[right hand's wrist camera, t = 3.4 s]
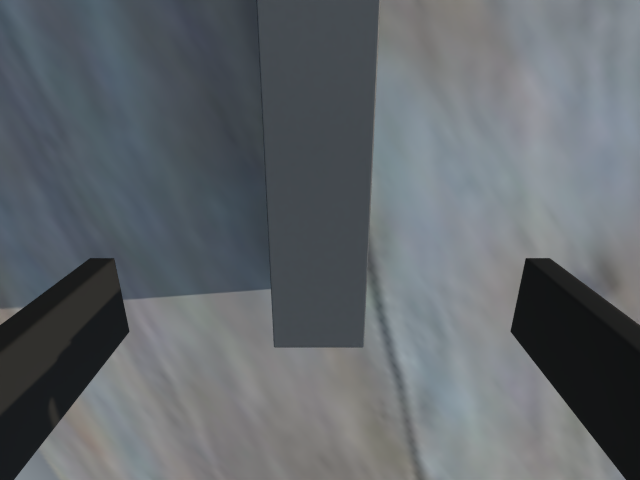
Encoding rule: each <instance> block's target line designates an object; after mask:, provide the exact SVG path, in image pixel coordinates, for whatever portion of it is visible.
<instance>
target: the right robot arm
mask: <svg viewBox="0 0 640 480" xmlns="http://www.w3.org/2000/svg"><path fill="white" fill-rule="evenodd" d="M128 333H129V327H128V323H127V318H126V313H125V308H124V303H123V298H122V294H121V289H120V284H119V279H118V274H117V270H116V265H115V260H114V258H90V259H89V260H87V261H86V262H85V263H83V264H82V265H81V266H79V267H78V268H76V269H75V270H74V271H72V272H71V273H70V274H68V275H67V276H66V277H64V278H63V279H62V280H60V281H59V282H58V283H56V284H55V285H54V286H52V287H51V288H50V289H48V290H47V291H46V292H44V293H43V294H42V295H40V296H39V297H38V298H36V299H35V300H34V301H32V302H31V303H29V304H28V305H27V306H25V307H24V308H23V309H21V310H20V311H19V312H17V313H16V314H15V315H13V316H12V317H11V318H9V319H8V320H7V321H5V322H4V323H3V324H1V325H0V480H14V479H15V478H16V476H17V475H18V474H19V473H20V471H21V470H22V469H23V467H24V466H25V465H26V464H27V462H28V461H29V460H30V458H31V457H32V456H33V455H34V453H35V452H36V451H37V449H38V448H39V447H40V446H41V444H42V443H43V442H44V440H45V439H46V438H47V437H48V435H49V434H50V433H51V431H52V430H53V429H54V428H55V426H56V425H57V424H58V423H59V421H60V420H61V419H62V417H63V416H64V415H65V414H66V412H67V411H68V410H69V408H70V407H71V406H72V405H73V403H74V402H75V401H76V399H77V398H78V397H79V396H80V394H81V393H82V392H83V390H84V389H85V388H86V387H87V385H88V384H89V383H90V381H91V380H92V379H93V378H94V376H95V375H96V374H97V373H98V371H99V370H100V369H101V367H102V366H103V365H104V364H105V362H106V361H107V360H108V358H109V357H110V356H111V355H112V353H113V352H114V351H115V349H116V348H117V347H118V346H119V344H120V343H121V342H122V340H123V339H124V338H125V337H126V335H127V334H128ZM511 333H512V334H513V335H514V337H515V338H516V339H517V340H518V342H519V343H520V344H521V346H522V347H523V348H524V349H525V351H526V352H527V353H528V355H529V356H530V357H531V358H532V360H533V361H534V362H535V364H536V365H537V366H538V367H539V369H540V370H541V371H542V373H543V374H544V375H545V376H546V378H547V379H548V380H549V381H550V383H551V384H552V385H553V387H554V388H555V389H556V390H557V392H558V393H559V394H560V396H561V397H562V398H563V399H564V401H565V402H566V403H567V405H568V406H569V407H570V408H571V410H572V411H573V412H574V414H575V415H576V416H577V417H578V419H579V420H580V421H581V423H582V424H583V425H584V426H585V428H586V429H587V430H588V432H589V433H590V434H591V435H592V437H593V438H594V439H595V440H596V442H597V443H598V444H599V446H600V447H601V448H602V449H603V451H604V452H605V453H606V455H607V456H608V457H609V458H610V460H611V461H612V462H613V464H614V465H615V466H616V467H617V469H618V470H619V471H620V473H621V474H622V475H623V476H624V478H625V479H626V480H640V325H639V324H637V323H636V322H635V321H633V320H632V319H631V318H629V317H628V316H627V315H625V314H624V313H623V312H621V311H620V310H619V309H617V308H616V307H615V306H613V305H612V304H611V303H609V302H608V301H606V300H605V299H604V298H602V297H601V296H600V295H598V294H597V293H596V292H594V291H593V290H592V289H590V288H589V287H588V286H586V285H585V284H584V283H582V282H581V281H580V280H578V279H577V278H576V277H574V276H573V275H572V274H570V273H569V272H568V271H566V270H565V269H564V268H562V267H561V266H559V265H558V264H557V263H555V262H554V261H553V260H551V259H550V258H526V260H525V265H524V270H523V274H522V279H521V284H520V289H519V294H518V298H517V303H516V308H515V313H514V318H513V322H512V327H511Z"/></svg>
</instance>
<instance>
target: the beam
mask: <svg viewBox="0 0 640 480" xmlns="http://www.w3.org/2000/svg"><path fill="white" fill-rule="evenodd" d="M379 18H380V0H257V19H258V39H259V59H260V78H261V98H262V118H263V138H264V158H265V178H266V197H267V217H268V237H269V257H270V277H271V296H272V316H273V336H274V347H364V330H365V309H366V289H367V268H368V247H369V226H370V205H371V184H372V164H373V143H374V122H375V101H376V80H377V60H378V39H379Z"/></svg>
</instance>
